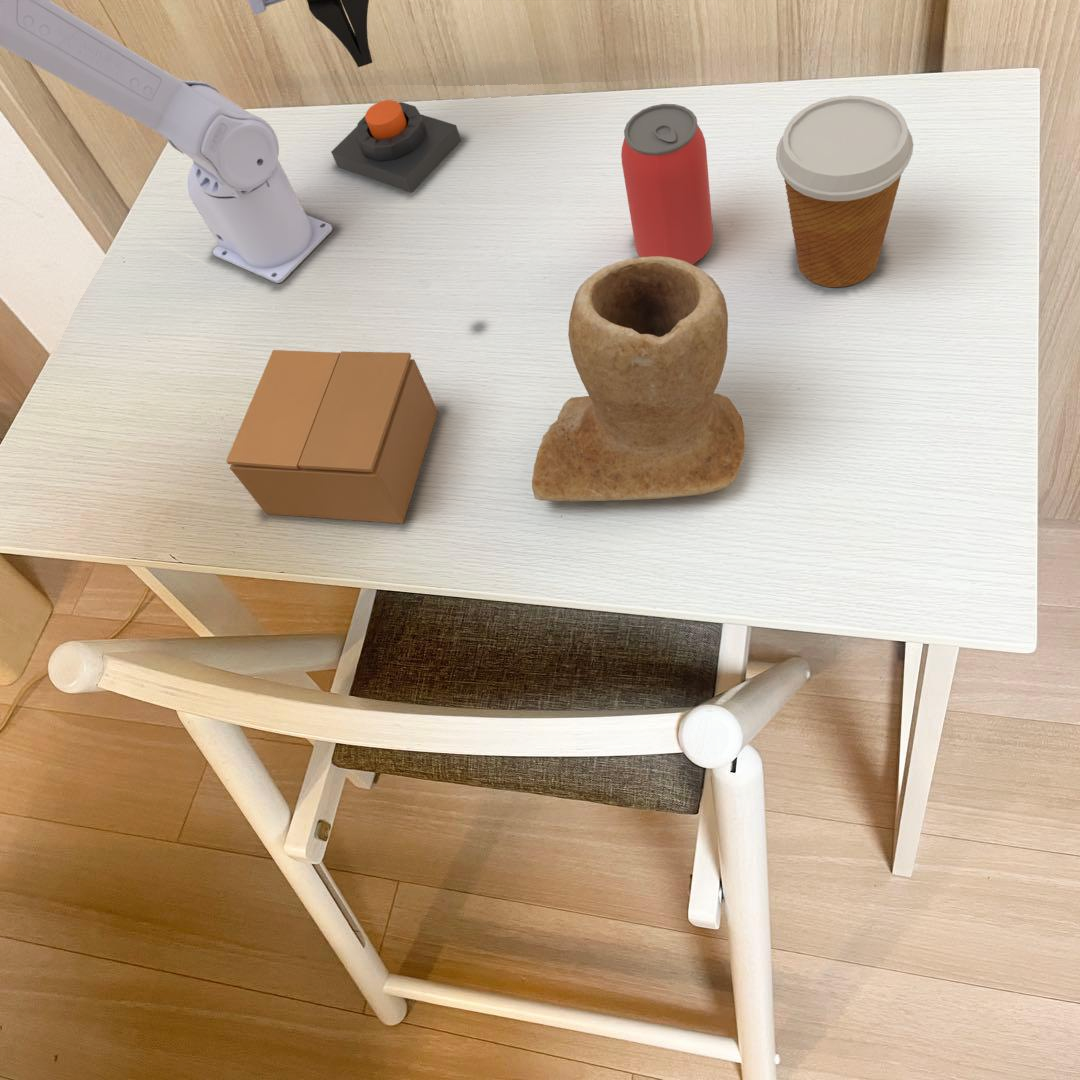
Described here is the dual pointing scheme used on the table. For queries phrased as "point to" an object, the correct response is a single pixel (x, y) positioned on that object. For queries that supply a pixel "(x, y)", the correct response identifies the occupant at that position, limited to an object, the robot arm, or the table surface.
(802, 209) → the disposable coffee cup
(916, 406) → the table surface
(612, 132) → the table surface
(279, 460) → the flap
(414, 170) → the button box
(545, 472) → the stone cup
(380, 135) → the button
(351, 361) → the carton
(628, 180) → the beer can
